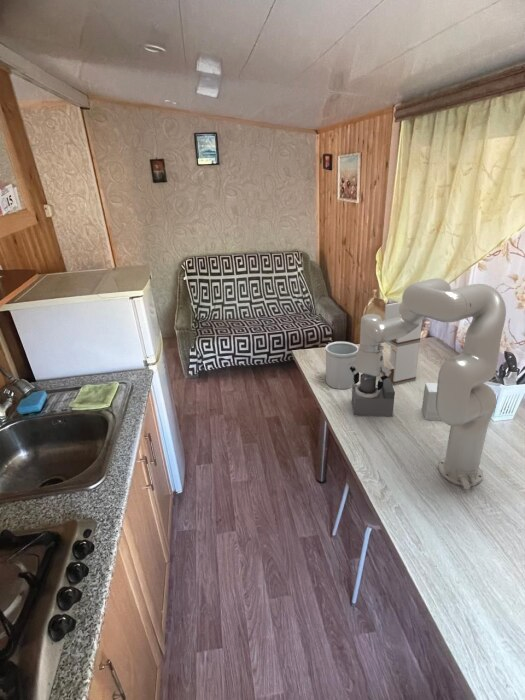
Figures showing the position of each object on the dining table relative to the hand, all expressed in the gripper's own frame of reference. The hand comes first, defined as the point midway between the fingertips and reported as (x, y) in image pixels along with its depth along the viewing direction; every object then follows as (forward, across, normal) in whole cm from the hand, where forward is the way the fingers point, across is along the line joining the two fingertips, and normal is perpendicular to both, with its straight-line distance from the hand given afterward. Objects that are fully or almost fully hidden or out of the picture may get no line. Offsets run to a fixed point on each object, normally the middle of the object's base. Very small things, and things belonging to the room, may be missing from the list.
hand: (367, 385), depth 155 cm
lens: (+3, 0, 0) cm, 3 cm away
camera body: (+11, -2, -1) cm, 11 cm away
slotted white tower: (+11, -2, -31) cm, 33 cm away
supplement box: (+11, -24, -9) cm, 28 cm away
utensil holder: (+11, +19, -15) cm, 26 cm away
